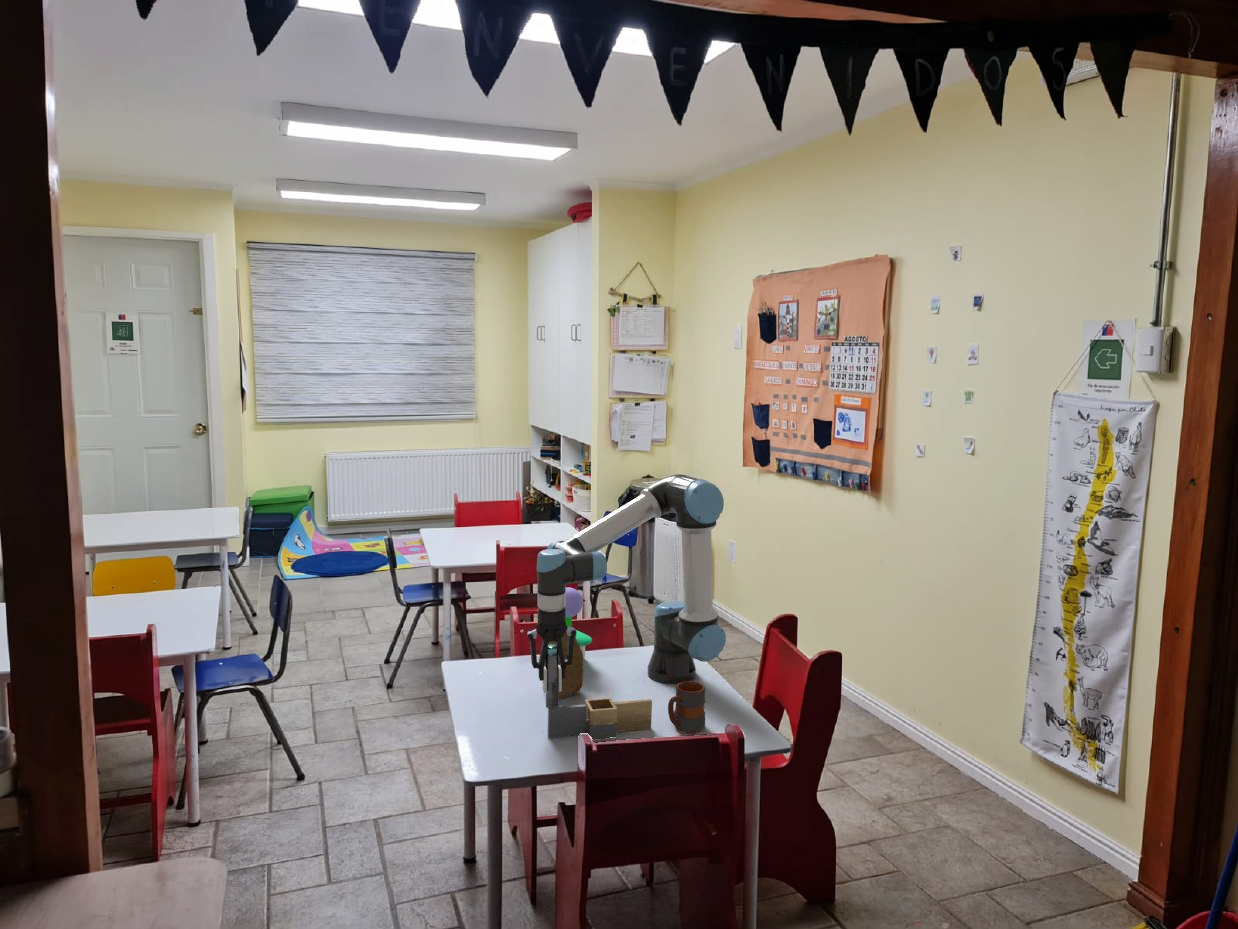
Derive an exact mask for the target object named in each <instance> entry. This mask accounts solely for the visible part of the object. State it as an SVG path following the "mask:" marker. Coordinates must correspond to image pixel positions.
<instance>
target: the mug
mask: <svg viewBox="0 0 1238 929" xmlns="http://www.w3.org/2000/svg"><path fill="white" fill-rule="evenodd" d="M675 687H676V689H675V696H672V697H671V698H669V700H668V704H667V711H668V712H667V713H668V717H669V720H670V722H671V724H672V725H673V726H674V728H675V729H676V731H679V732H681V733H683V732H684V733H683V734H698V733H700V732H702V731H703V730H704V729H705V727H706V712H705V704H706V688H705V686H704V685H703V684H702V683H700V682H699V681H698V682H697V681H693V680H691V681H686V682H681V683H677V685H676V686H675ZM674 705H675V707H674ZM674 708H675V709H674Z"/></svg>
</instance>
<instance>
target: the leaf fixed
mask: <svg viewBox="0 0 1238 929" xmlns="http://www.w3.org/2000/svg"><path fill="white" fill-rule="evenodd" d="M617 732H618V731H617V724H616V723H610V724H599V725H590V724H589V722H588V720H587V718H586V705H585V704H577V705H573V704H572V705H564V706H558V707H548V708H547V738H548V739H549V740H550V739H561V738H573V737H579V736H578V735H579V734H580V733H588V734H589V735H590V736H591V737H592V739H593V740H592V741H597V740H607V739H606V738H610V737H616V738H617ZM610 739H611V738H610Z"/></svg>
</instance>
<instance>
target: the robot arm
mask: <svg viewBox="0 0 1238 929" xmlns="http://www.w3.org/2000/svg"><path fill="white" fill-rule="evenodd" d="M724 500H725V499H724V497H723V492H721V490H720V489H719V487H717V485H715V484H714V483H712V482H710V481H708V480H706V479H703V478H701V479H700V478H697V477H692V476H689V475H686V474H673V475H669V476H666V477H663V478H662V479H659V480H657V481H655V482H654V483H652V484H650V485H648V486H647V487H645V488H643V489H641V491H640V493H639V495H638V496H637V497H635V498H634V499H633V498H632V500H630V501H628V502H626V503H625V504H623V505H622V506H620V507H619V508H616V509H615V510H613V511H612V512H610V513H609V514H607V515H605V516H603V517H601V519H598V520H597V521H596V522H594V523H592V524H591V525H589V526H587V527H586V528H584V529H582V530H580V531H579V532H577V533H576V534H574V535H572V536H571V537H568V539H566V540H559V539H558V540H557V539H556V540H553V541H551V542H550V543H549V544H548V546H547V547H546V549H543V550H541V551H539V553H538V554H537V558H536V560H537V561H536V577H537V580H536V581H537V592H536V593H537V607H538V608H537V625H536V626H535V629H533V630H528V631H527V632H526V634H527V637H528V639H529V648H530V657H531V660H530V661H531V665H532V668H533V669H538V679H539V681H542V691H543V694H546V693H547V670H546V667H545V666H544V665H545V659H546V653H547V647H548V644H549V642H551V641H555V642H556V645H557V647H558V656H559V662H560V665H558V691H559V692H562V679H564V678H565V668H566V666H568V665H571V664H572V659H573V644H574V637H575V635H576V629H575V627H574V626H572V628H570V627H567V625H566V609H565V608H564V607H565V606H566V598H565V592H566V587H567V585H570V584H575V583H576V584H577V583H583V582H591V581H598V580H600V579H603V578H605V576H606V575H607V572H608V563H607V559H606V557H605V554H603V553H602V552H600V550H602V549H603V548H605V547H607V546H608V545H610V544H611V543H614V542H615V541H617V540H619V539H620V538H622V537H623V536H625V535H626V534H628V533H630V532H632V531H633V530H635V529H636V528H638V527H639V526H641V525H643V524H644V523H645V522H647V521H649V520H651V519H653V518H655V519H659V518H660V517H662V516H664V515H667V514H670V513H672V514H673V513H674V514H675V520H676V521H675V522H676V524H675V525H676V527H677V528H678V529H679V530H680V531H681V550H682V551H681V554H682V590H683V592H682V593H683V601H666V602H661V603H658V604H657V606H655V609H654V610H655V611H654V615H653V616H654V632H653V634H654V636H653V637H654V639H653V643H654V644H653V651H652V653H651V657H650V660H649V661H648V665H647V675H648V677H649V678H650V679H652V680H653V681H656V682H660V683H663V684H679V683H681V682H686V681H693V680H694V679H696V676H697V668H696V667H697V666H696V665H695V664H696V663H695V661H694V660H697V661H699V662H704V663H705V662H710V661H712V660H714V659H715V658H717V657H718V656H719V655H720V653H721V652H723V651H724V648H725V646H726V641H727V635H726V632H725V630H724V629H723V628H722V626H720V625H719V614H718V611H717V610H716V609H715V608H714V607H713V606H714V605H713V604H714V602H713V598H714V597H713V558H712V557H713V555H712V554H713V552H712V551H713V550H712V530H714V529H715V528H716V526H717V520H718V519H720V518H721V514H722V513H723V510H724V505H725V502H724ZM566 631H567V635H568V641H567V656H566V660H565V659H564V654H563V648H562V642H561V638H562V636H563V635H564V634H565V632H566ZM537 635H539V637H540V638H541V645H540V652H539V658H537V656H538V655H537V645H536V639H537Z"/></svg>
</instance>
